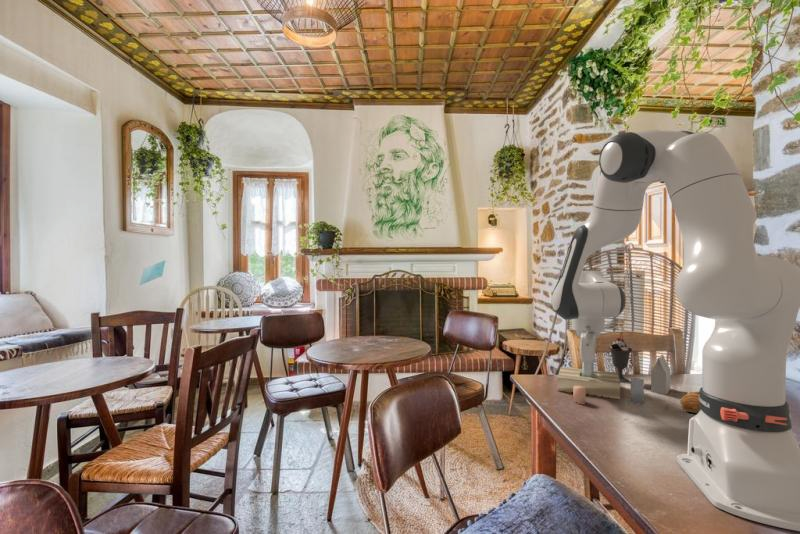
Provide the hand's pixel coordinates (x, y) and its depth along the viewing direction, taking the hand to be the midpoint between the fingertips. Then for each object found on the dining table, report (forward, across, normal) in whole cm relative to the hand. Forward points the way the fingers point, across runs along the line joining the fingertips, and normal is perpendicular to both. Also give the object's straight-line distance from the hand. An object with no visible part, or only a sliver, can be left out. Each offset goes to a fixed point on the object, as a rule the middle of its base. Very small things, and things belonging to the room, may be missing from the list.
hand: (588, 370), depth 115 cm
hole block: (+5, 0, 0) cm, 5 cm away
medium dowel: (+5, -6, -12) cm, 14 cm away
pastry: (+6, -5, -25) cm, 26 cm away
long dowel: (+5, 0, 0) cm, 5 cm away
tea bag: (+6, +7, -19) cm, 21 cm away
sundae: (+6, +13, -9) cm, 17 cm away
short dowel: (+6, -13, +2) cm, 14 cm away
